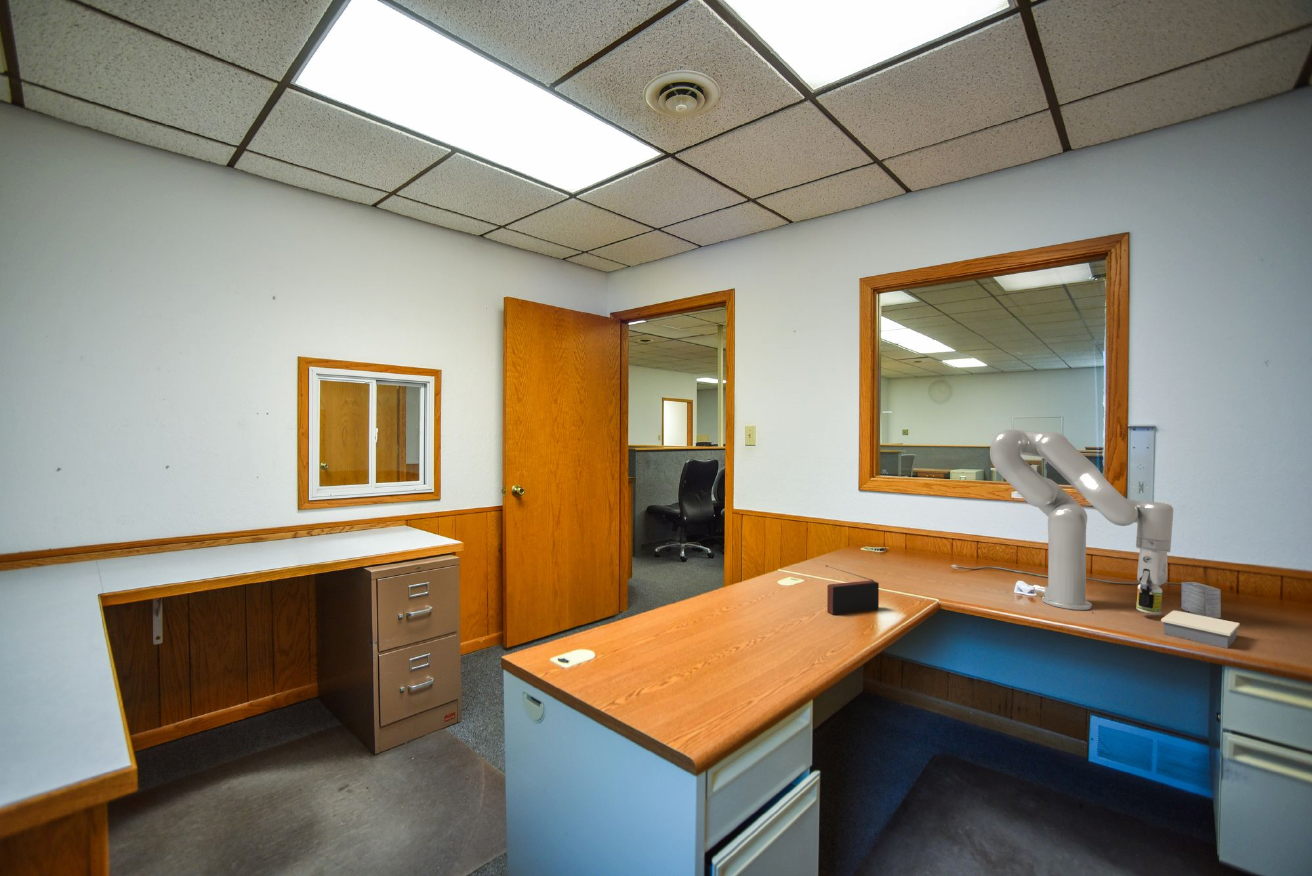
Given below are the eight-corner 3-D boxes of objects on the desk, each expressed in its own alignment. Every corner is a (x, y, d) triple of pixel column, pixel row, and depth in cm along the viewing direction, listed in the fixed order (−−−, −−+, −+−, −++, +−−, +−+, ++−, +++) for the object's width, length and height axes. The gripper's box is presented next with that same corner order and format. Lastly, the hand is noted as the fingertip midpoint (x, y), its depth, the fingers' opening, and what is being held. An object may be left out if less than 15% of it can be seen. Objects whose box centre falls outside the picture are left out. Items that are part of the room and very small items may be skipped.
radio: (871, 606, 171) (872, 559, 171) (878, 610, 168) (878, 561, 168) (820, 612, 165) (821, 563, 165) (826, 616, 162) (827, 565, 162)
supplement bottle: (1155, 615, 157) (1158, 582, 157) (1132, 609, 162) (1134, 577, 162) (1164, 613, 160) (1166, 580, 159) (1141, 607, 165) (1143, 575, 164)
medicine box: (1221, 618, 160) (1221, 589, 160) (1205, 618, 161) (1206, 589, 160) (1195, 609, 168) (1195, 581, 168) (1180, 609, 168) (1181, 581, 168)
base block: (1160, 633, 148) (1161, 619, 148) (1173, 624, 156) (1173, 610, 156) (1229, 649, 138) (1230, 633, 138) (1239, 638, 145) (1239, 623, 145)
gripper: (1162, 550, 152) (1157, 614, 153) (1177, 543, 162) (1173, 604, 163) (1127, 544, 158) (1123, 606, 159) (1144, 538, 168) (1140, 596, 169)
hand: (1148, 604), depth 161 cm, fingers closed on supplement bottle, 5 cm apart
